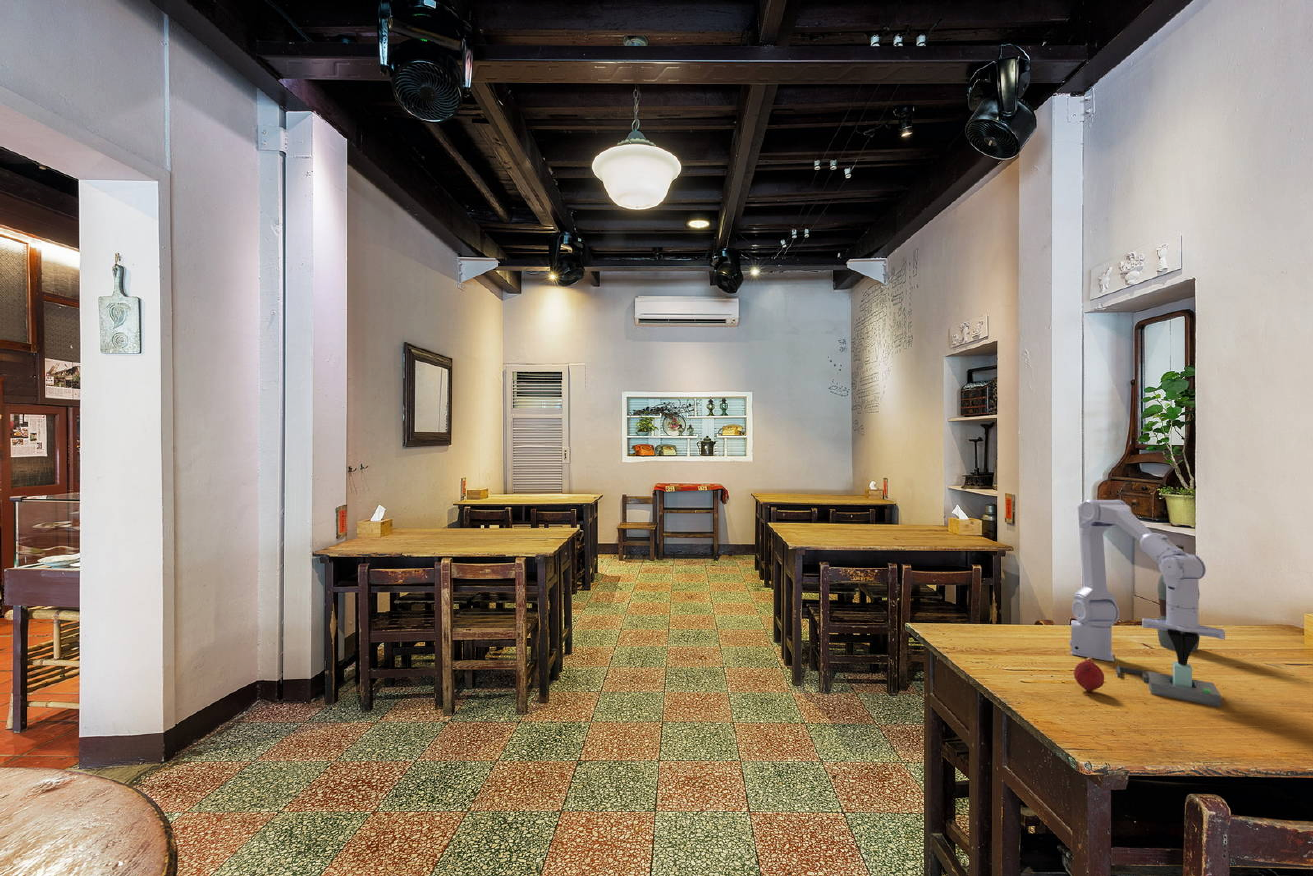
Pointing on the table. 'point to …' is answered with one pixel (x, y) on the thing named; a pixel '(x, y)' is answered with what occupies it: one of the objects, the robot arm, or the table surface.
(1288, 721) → the table surface
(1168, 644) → the bottle
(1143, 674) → the holster
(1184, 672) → the plug
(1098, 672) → the onion
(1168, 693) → the port panel
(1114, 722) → the table surface
